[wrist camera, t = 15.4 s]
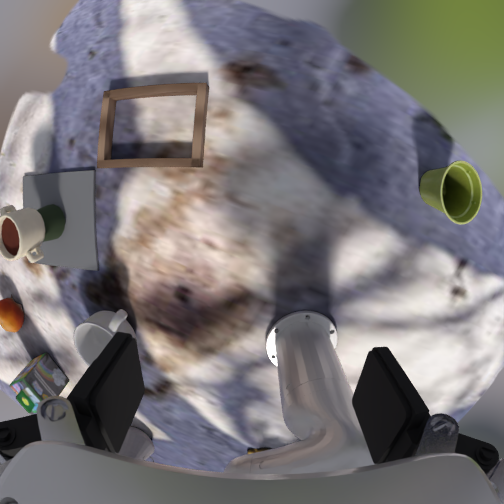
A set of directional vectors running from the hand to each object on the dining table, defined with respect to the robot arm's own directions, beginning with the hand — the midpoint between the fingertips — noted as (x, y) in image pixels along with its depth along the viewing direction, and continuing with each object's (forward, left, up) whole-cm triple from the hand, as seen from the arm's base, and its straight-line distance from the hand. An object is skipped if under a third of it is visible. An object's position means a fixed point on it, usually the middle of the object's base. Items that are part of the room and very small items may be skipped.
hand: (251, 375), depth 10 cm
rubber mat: (-1, +35, -33) cm, 48 cm away
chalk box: (-38, +47, -34) cm, 69 cm away
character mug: (-1, +35, -33) cm, 48 cm away
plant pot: (+9, -30, -34) cm, 46 cm away
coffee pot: (-51, +23, -34) cm, 65 cm away
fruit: (-22, +53, -34) cm, 66 cm away
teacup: (-20, +23, -34) cm, 45 cm away
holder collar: (+14, +16, -33) cm, 40 cm away
